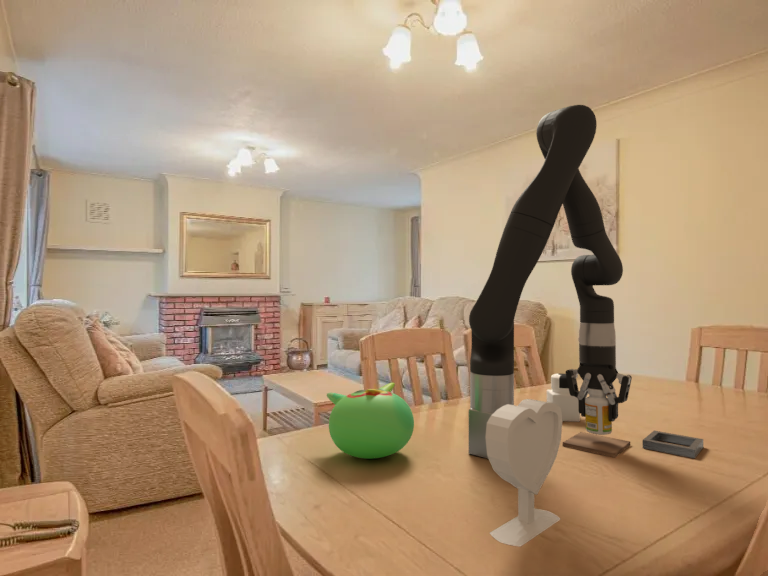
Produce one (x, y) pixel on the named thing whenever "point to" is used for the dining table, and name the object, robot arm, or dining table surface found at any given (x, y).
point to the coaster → (597, 444)
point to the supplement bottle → (597, 412)
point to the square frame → (654, 444)
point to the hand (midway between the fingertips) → (597, 418)
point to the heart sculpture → (524, 462)
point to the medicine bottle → (563, 398)
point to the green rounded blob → (370, 422)
